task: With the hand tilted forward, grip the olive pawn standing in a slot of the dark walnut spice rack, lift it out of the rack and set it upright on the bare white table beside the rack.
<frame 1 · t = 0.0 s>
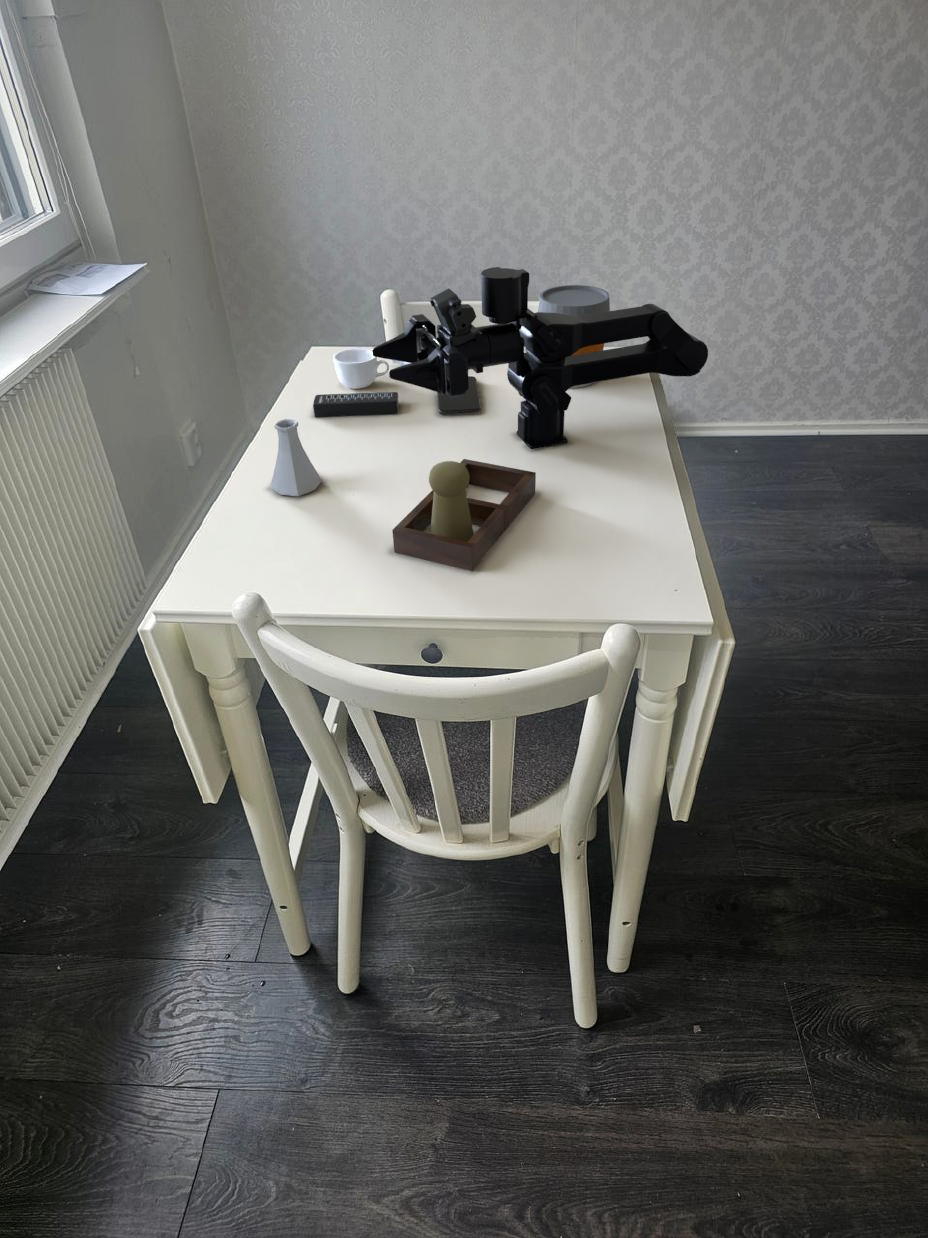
hand: (380, 362, 122), 17 cm above the table, tool horizontal, fingers open, 9 cm apart
olive pawn: (452, 541, 115), resting in spice rack
teacup: (364, 385, 158), on the table
smartphone: (458, 398, 152), on the table
reusable coffee cup: (570, 379, 158), on the table
multiport hub: (357, 411, 149), on the table
flask: (296, 486, 128), on the table
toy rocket: (418, 360, 168), on the table
spice rack: (468, 521, 118), on the table
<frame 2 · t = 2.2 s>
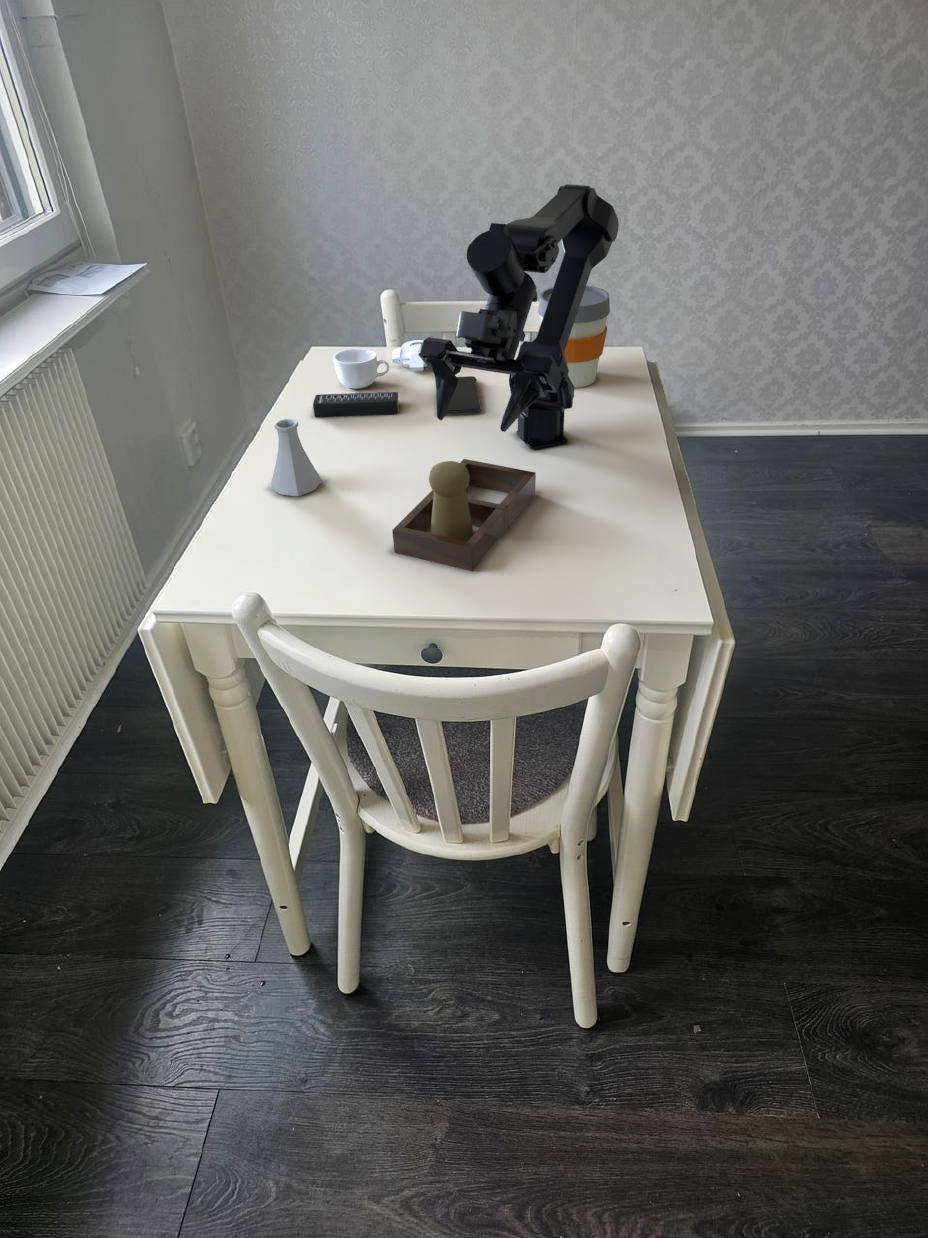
hand: (470, 424, 112), 13 cm above the table, tool tilted 45°, fingers open, 9 cm apart
nothing on the table moved.
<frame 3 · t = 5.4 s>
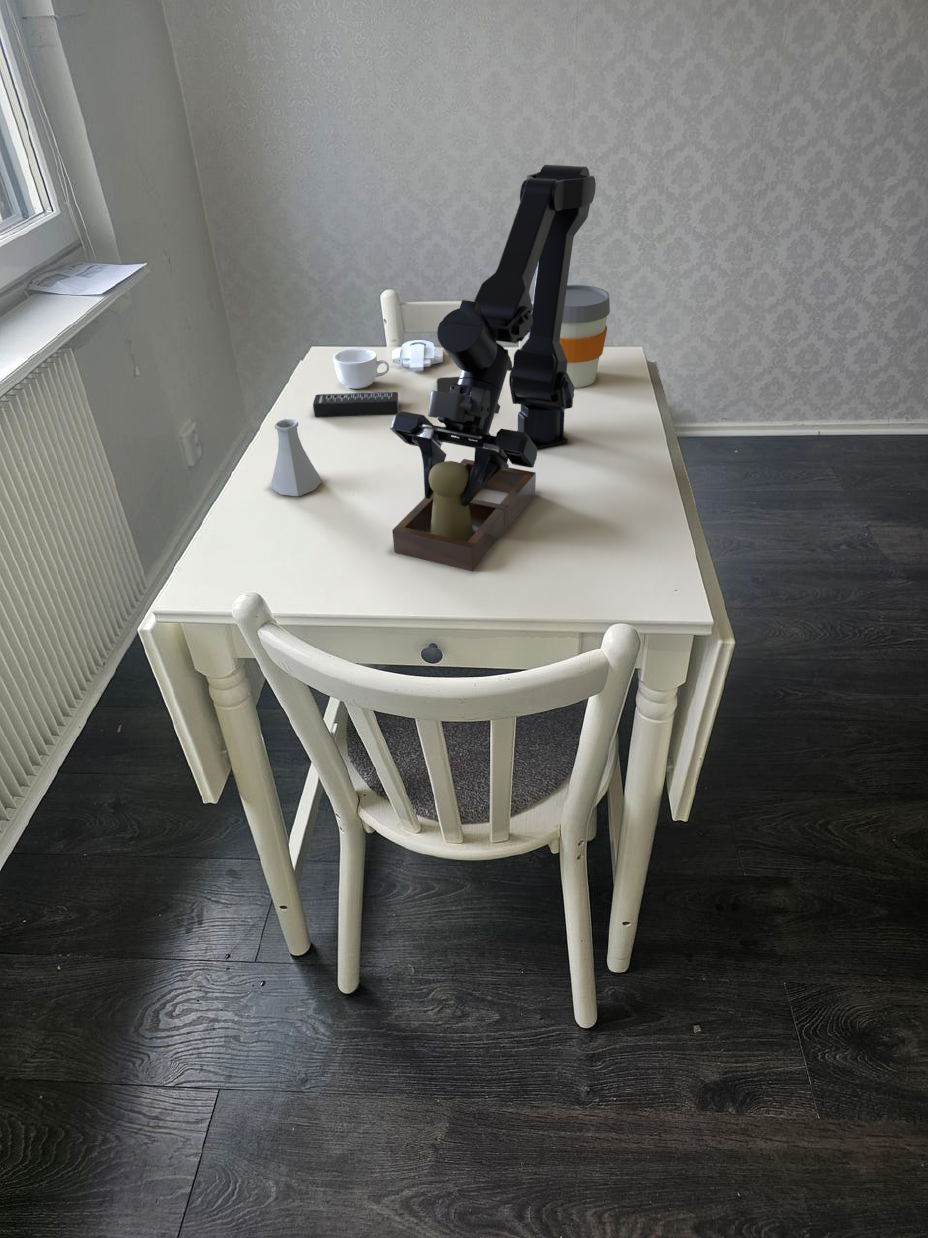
hand: (445, 501, 109), 7 cm above the table, tool tilted 45°, fingers closed on olive pawn, 5 cm apart
olive pawn: (452, 541, 115), resting in spice rack, touching gripper
everything else where it was.
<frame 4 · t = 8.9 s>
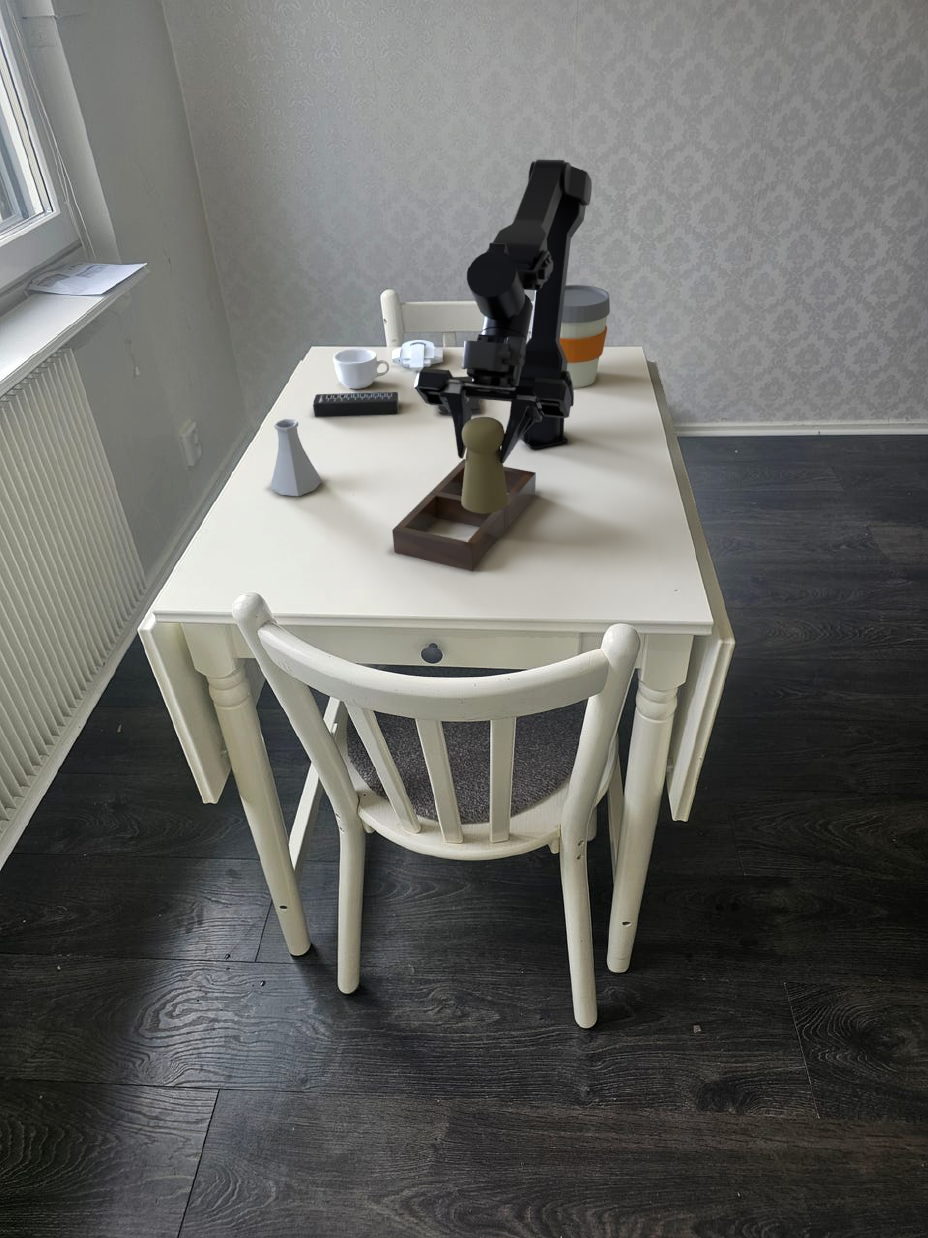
hand: (480, 459, 104), 13 cm above the table, tool tilted 45°, fingers closed on olive pawn, 5 cm apart
olive pawn: (484, 502, 109), point 6 cm above the table, touching gripper
everything else where it was.
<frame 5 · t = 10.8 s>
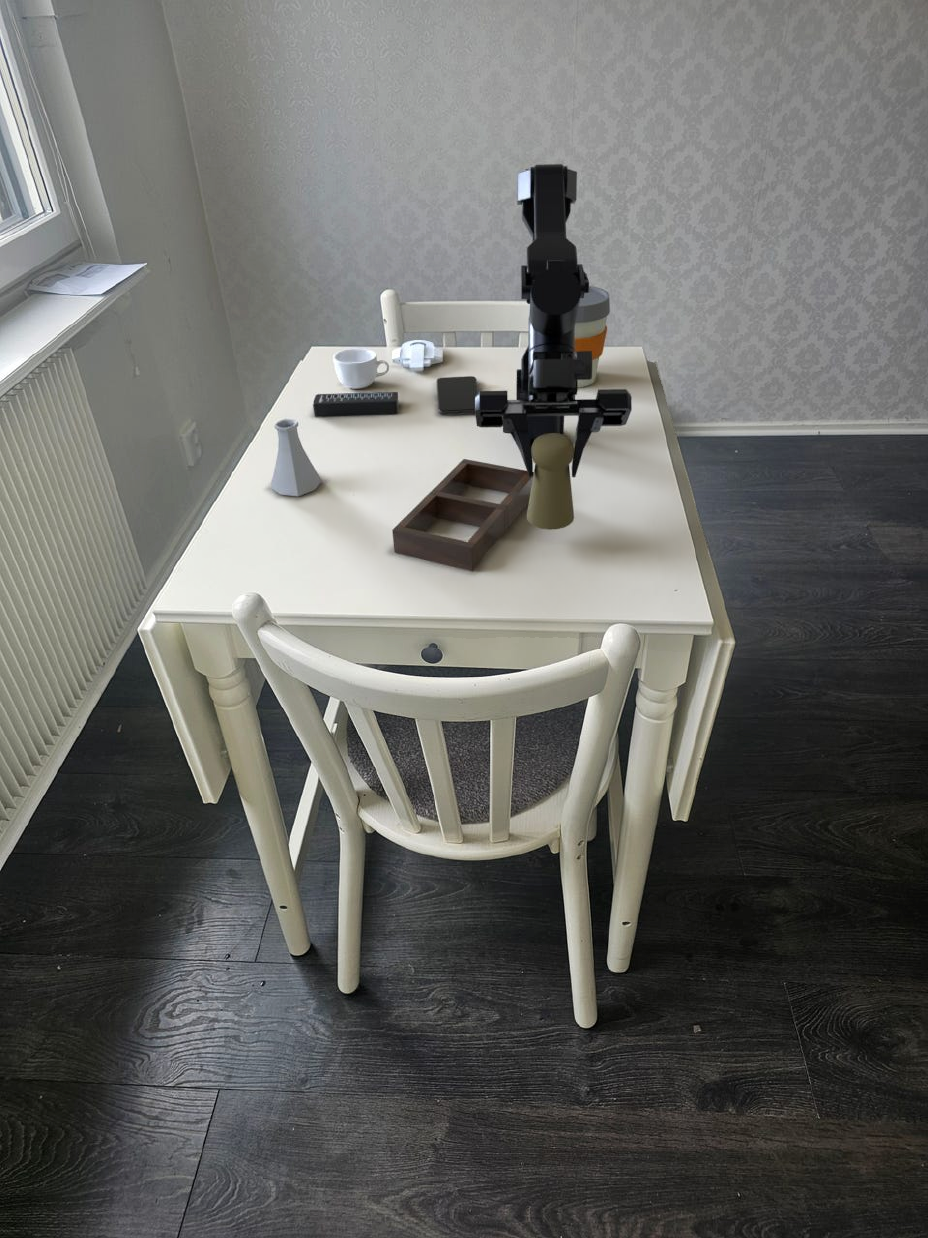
hand: (552, 476, 104), 11 cm above the table, tool tilted 45°, fingers closed on olive pawn, 5 cm apart
olive pawn: (550, 518, 109), point 5 cm above the table, touching gripper
everything else where it was.
when the fingers open (7 cm above the table, at t = 12.6 s): olive pawn stays where it is, on the table.
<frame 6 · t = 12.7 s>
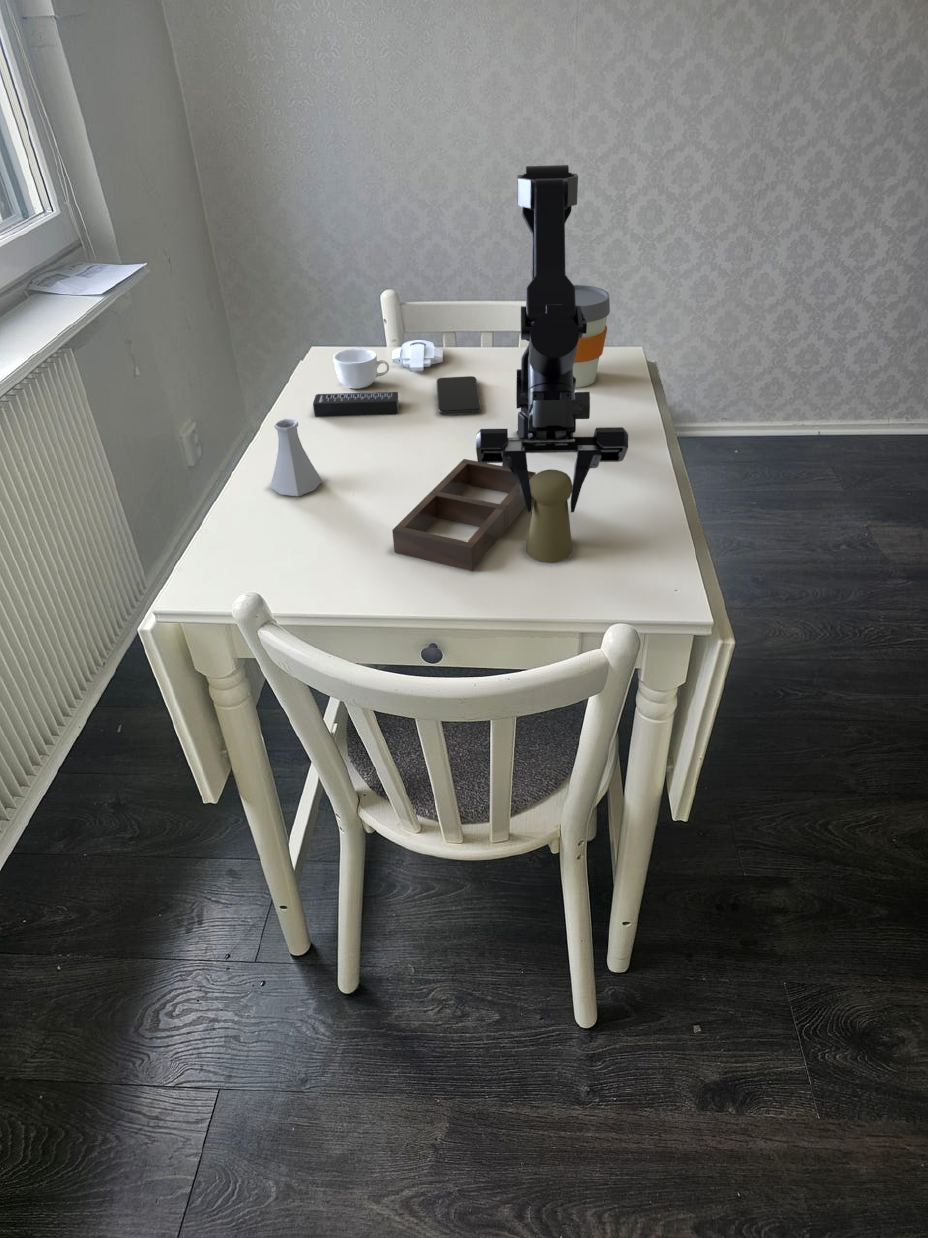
hand: (551, 511, 107), 7 cm above the table, tool tilted 45°, fingers open, 5 cm apart
olive pawn: (549, 551, 112), on the table
everything else where it was.
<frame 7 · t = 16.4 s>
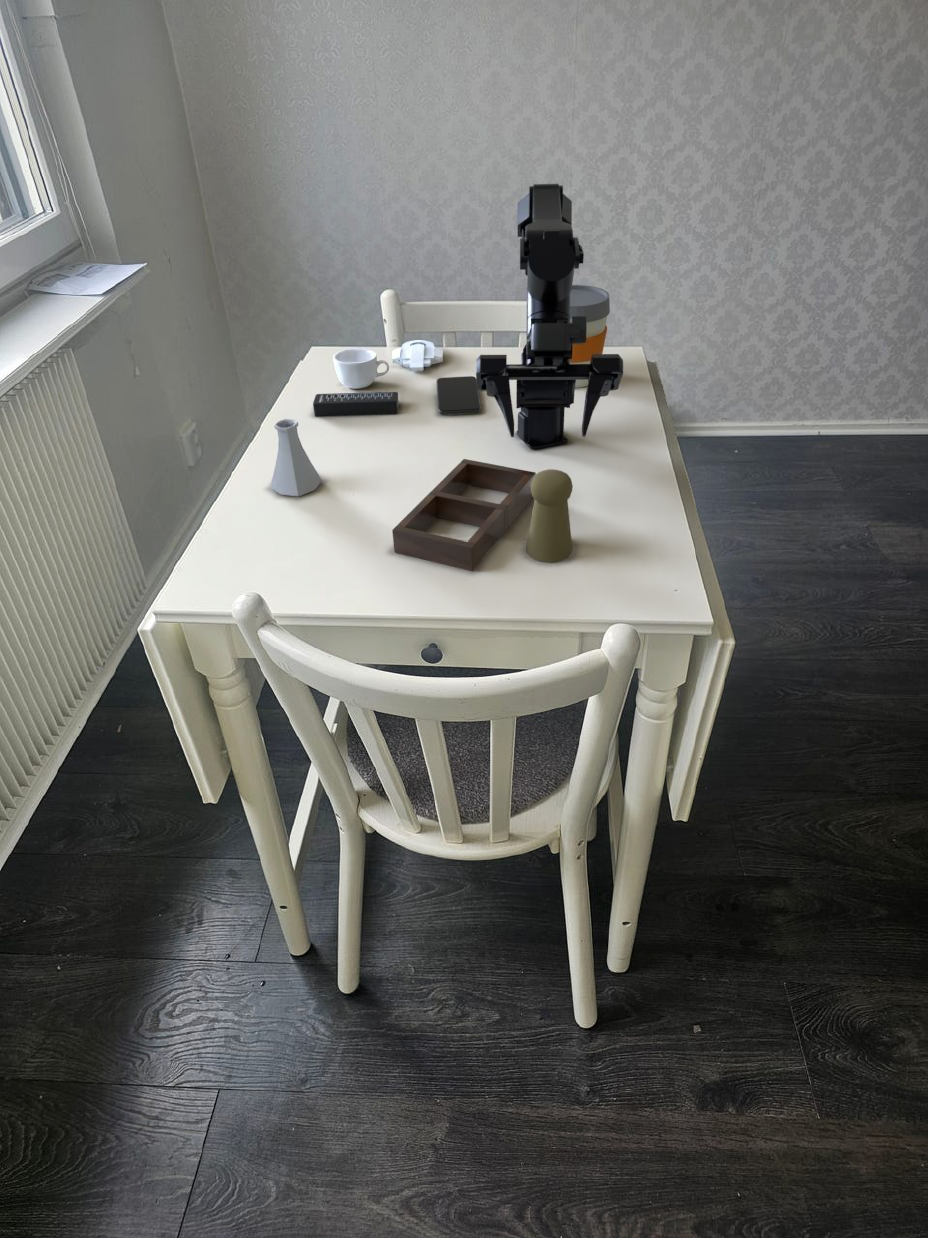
hand: (548, 436, 110), 13 cm above the table, tool tilted 45°, fingers open, 9 cm apart
nothing on the table moved.
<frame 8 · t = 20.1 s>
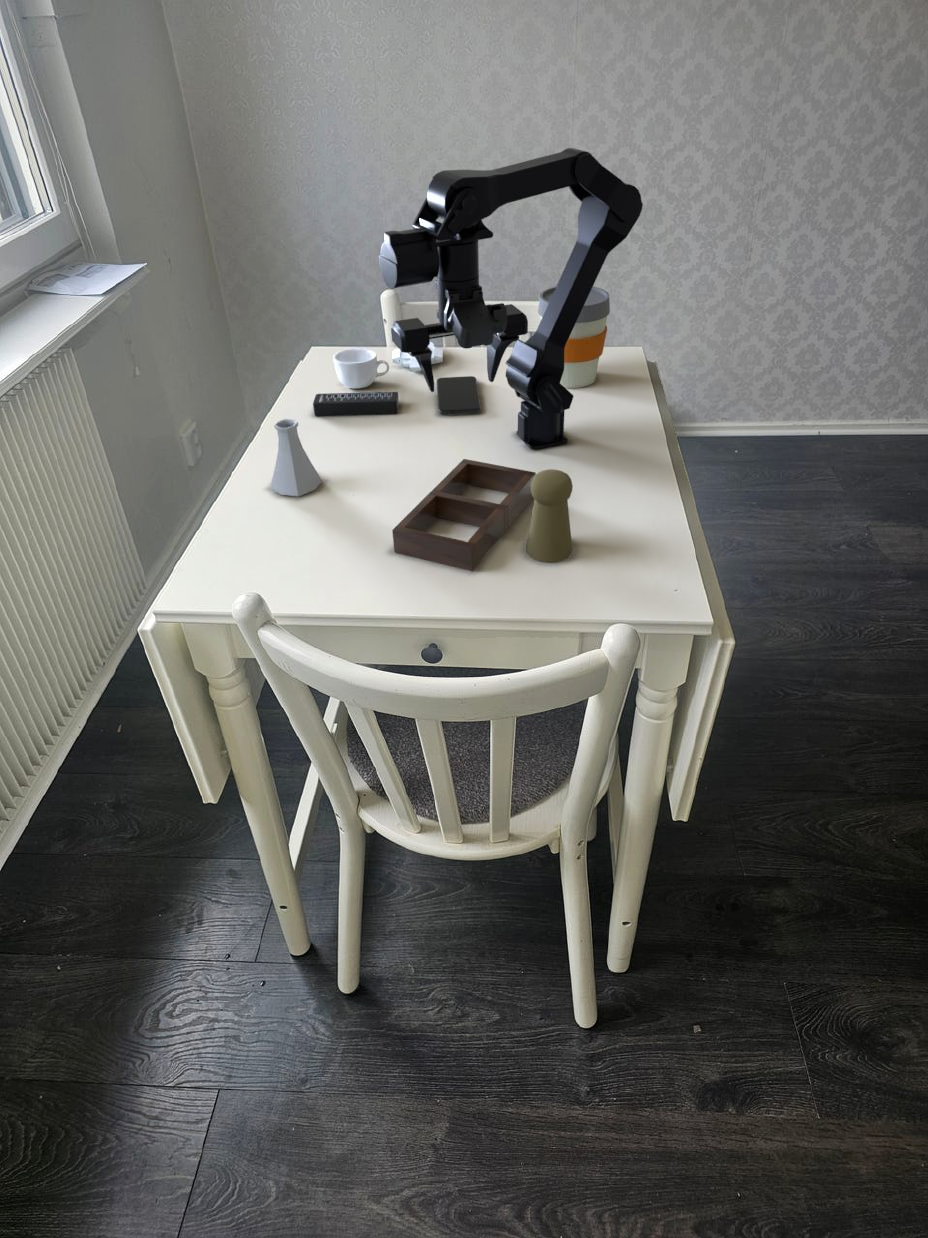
hand: (461, 386, 126), 12 cm above the table, tool pointing down, fingers open, 9 cm apart
nothing on the table moved.
at the end: olive pawn inside the target area (0.1 cm from its centre), on the table; olive pawn tilted 0°; the gripper is holding nothing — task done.
